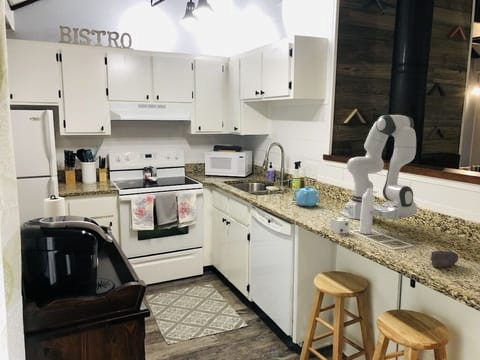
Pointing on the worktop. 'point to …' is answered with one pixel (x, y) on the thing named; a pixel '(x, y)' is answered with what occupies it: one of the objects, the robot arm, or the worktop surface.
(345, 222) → the die
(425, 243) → the worktop surface
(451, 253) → the perforated stone tool
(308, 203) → the decorative pot
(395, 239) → the game track
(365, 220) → the white bottle
